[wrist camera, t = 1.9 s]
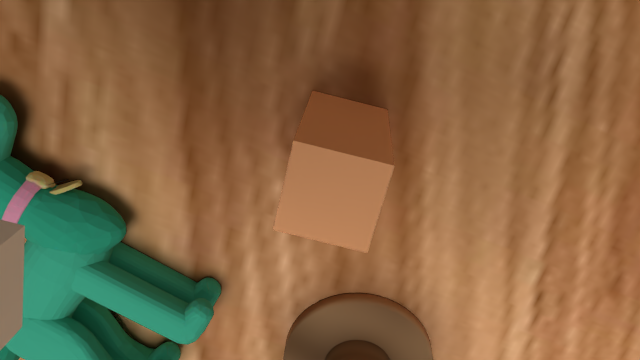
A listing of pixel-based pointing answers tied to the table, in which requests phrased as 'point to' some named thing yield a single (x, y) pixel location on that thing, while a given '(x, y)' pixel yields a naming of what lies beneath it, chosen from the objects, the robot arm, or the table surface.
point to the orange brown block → (337, 173)
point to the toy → (89, 273)
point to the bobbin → (357, 331)
